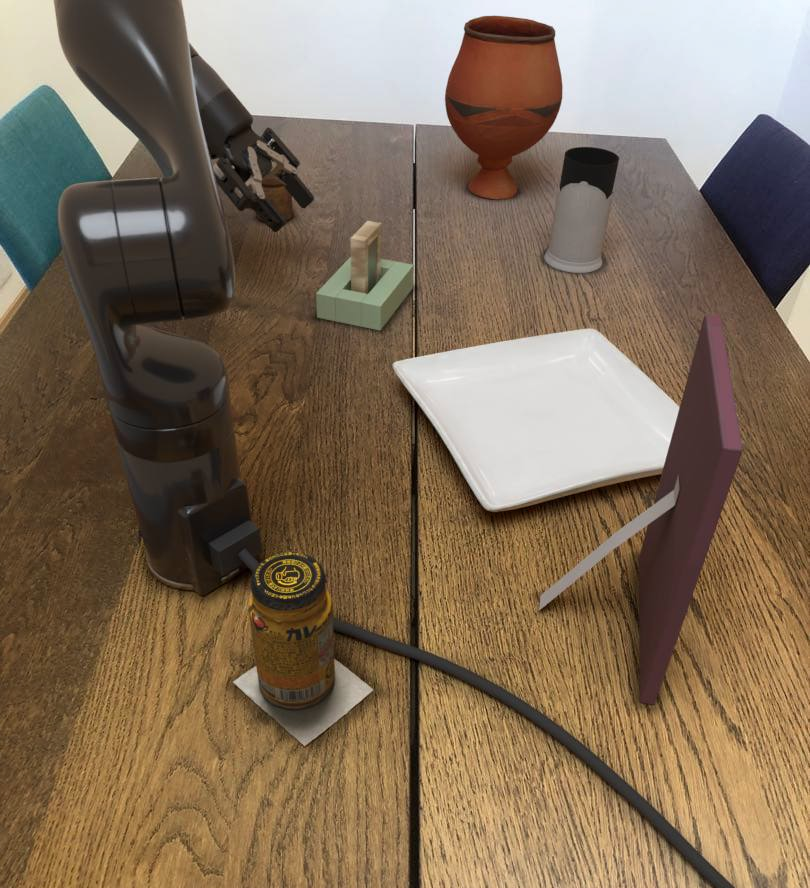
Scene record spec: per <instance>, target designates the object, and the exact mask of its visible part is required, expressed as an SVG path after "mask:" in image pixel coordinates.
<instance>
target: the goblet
mask: <svg viewBox="0 0 810 888" xmlns="http://www.w3.org/2000/svg"><path fill="white" fill-rule="evenodd" d="M463 31H464V33H463V37H462V40H461V44H460V47H459V51H458V53H457V55H456V58H455V60H454V62H453V65H452V66H451V69H450V73H449V75H448V78H447V82H446V87H445V95H444V104H445V112H446V116H447V119H448V122H449V124H450V126H451V128H452V130H453V132H454V133H455V135H456V136H457V137H458V139H459V140H460V141H461V142H462V143H463V145H465V147H466V148H468V149H469V150H470V151H471V152H473V153H474V154H476V155H477V159H476V161H477V163H478V164H479V166H480V167H481V168H480V169H479V170H478V172H477V173H476V174H475V175H474V176H473V178H472V179H471V180H470V182H469V183H468V187H467V188H468V190H469V192H470V193H471V194H473V195H475V196H477V197H481V198H483V199H490V200H505V199H510V198H513V197H514V196H515V195H516V194H517V193H518V186H517V183H516V181H515V180H514V178H513V176H512V174H511V173H510V171H509V169H508V166H510V164H512V162H513V157H514V156H517V155H520V154H522V153H524V152H526V151H528V150H529V149H531V148H533V147H534V146H535V145H536V144H538V143H539V142H540V141H541V140H542V139H543V138H545V136H546V135H547V134H548V132H549V131H550V129H552V127H553V125H554V123H555V122H556V119H557V117H558V114H559V112H560V110H561V106H562V101H563V90H564V89H563V88H564V87H563V77H562V72H561V71H562V70H561V67H560V60H559V57H558V51H557V46H556V41H555V37H556V29H555V28H554V26H553V25H549V24H546V23H543V22H539V21H536V20H534V19H529V18H522V17H515V16H506V15H482V16H479V17H474V18H472V19H469V20H467V22H465V24H464V26H463Z"/></svg>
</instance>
